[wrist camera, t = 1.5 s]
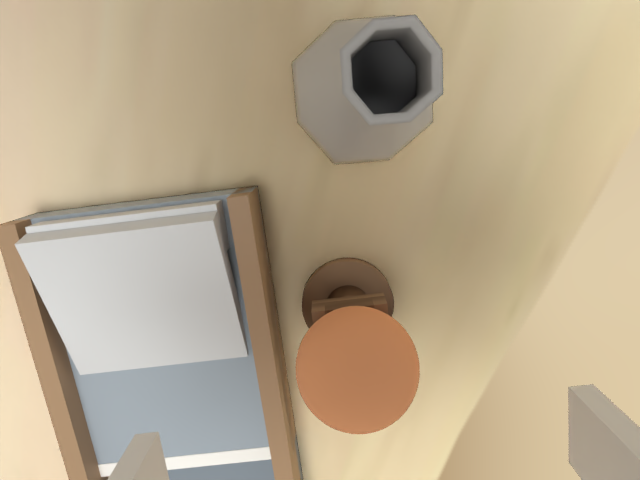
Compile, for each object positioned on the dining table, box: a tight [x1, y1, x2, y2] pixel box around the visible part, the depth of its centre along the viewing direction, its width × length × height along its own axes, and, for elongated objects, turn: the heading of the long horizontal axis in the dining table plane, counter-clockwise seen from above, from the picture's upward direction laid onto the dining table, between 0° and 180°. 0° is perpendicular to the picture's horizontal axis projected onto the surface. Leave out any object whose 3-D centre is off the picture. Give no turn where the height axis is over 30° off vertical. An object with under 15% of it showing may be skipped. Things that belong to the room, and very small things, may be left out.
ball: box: [296, 306, 419, 434], centre depth 19 cm, size 5×5×5 cm
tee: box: [302, 258, 394, 329], centre depth 24 cm, size 5×5×5 cm
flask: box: [292, 15, 443, 165], centre depth 19 cm, size 7×7×10 cm
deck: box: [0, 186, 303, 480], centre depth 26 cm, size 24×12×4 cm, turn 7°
